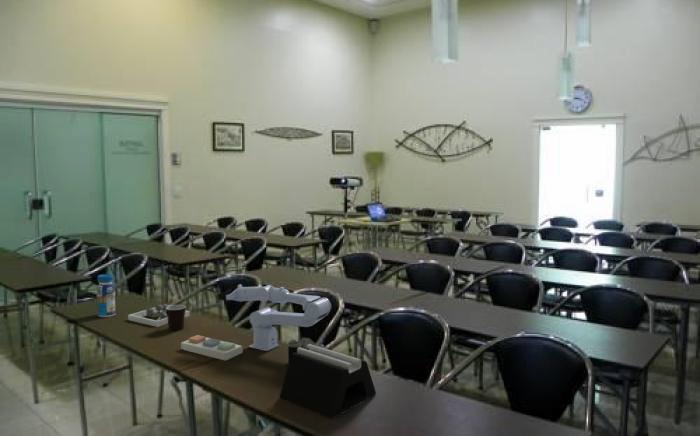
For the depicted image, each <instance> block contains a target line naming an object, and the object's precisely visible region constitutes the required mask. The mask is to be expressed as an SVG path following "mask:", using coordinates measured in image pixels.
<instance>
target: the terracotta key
mask: <svg viewBox="0 0 700 436" xmlns="http://www.w3.org/2000/svg"><path fill="white" fill-rule="evenodd" d="M206 338H207V337H206V336H204V335H200V334H199V335H198V334H196V335H194V336H190V337H188V340H189V342H192V343H196V344H198V343H201V342H203V341H206Z"/></svg>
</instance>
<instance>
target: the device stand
mask: <svg viewBox="0 0 700 436" xmlns="http://www.w3.org/2000/svg"><path fill="white" fill-rule="evenodd" d="M307 348H309V350H307V349H303V348H300V347H299V348H298V349H297V353H295V352H294V353H293V354H292V355H291V358H290V362H289V364H288V366H287V369H286V373H285V376H284V378H283V383H282V386H281V389H280V392H279V393H280V394H279V398H280V399H282V398H283V399H282V400H285V401H287V400H288V402H289V401H290V403H292V404H294V403H295V404H294V405H296V406H297V405H298V406H299V405H300V406H299V407H302V406H303V407H302V408H304V407H305V408H304V409H307V408H308V409H307V410H309V409H310V410H309V411H311V410H312V411H311V412H314V411H315V412H314V413H316V412H317V414H319V413H320V414H319V415H321V414H322V416H324V417H326V416H327V417H326V418H328V419H331V418H333V417H334V418H336V417H338V416H340V415H342V414H343V413H342V412H344V411H345V412H347V411H349V410H350V408H351V407H353V406H354V407H356V406H358V405H359V404H358V403H360V402H362V401H364V400H365V401H367V400H368V399H367V398H369V397H371V396H373V395H375V394H376V393H377V391H376V388H375V385H374V381H373V379H372V375H371V372H370V369H369V368H370V367H369V366H368V363H367V361H366V360H363V359H360V358H357V357H354V356H349V355H347V354H344V353H340V352H337V351H334V350H331V349H328V348H325V349H324V348H321V347H318V346H315V345H311V344H307ZM375 396H376V395H375ZM373 397H374V396H373ZM371 398H372V397H371ZM366 399H367V400H366ZM369 399H370V398H369ZM365 401H364V402H365ZM362 403H363V402H362ZM357 404H358V405H357ZM360 404H361V403H360ZM355 405H356V406H355ZM354 407H353V408H354ZM348 409H349V410H348ZM351 409H352V408H351ZM346 410H347V411H346ZM345 412H344V413H345ZM341 413H342V414H341ZM339 414H340V415H339ZM337 415H338V416H337ZM335 416H336V417H335ZM334 418H333V419H334Z"/></svg>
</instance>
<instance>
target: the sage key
mask: <svg viewBox="0 0 700 436" xmlns="http://www.w3.org/2000/svg"><path fill="white" fill-rule="evenodd" d="M223 342H224V343H222V344H219V345H218V349H220V350H224V351H228V350H231V349H233V348H235V344H236V343H233V342H228V341H223Z"/></svg>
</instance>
